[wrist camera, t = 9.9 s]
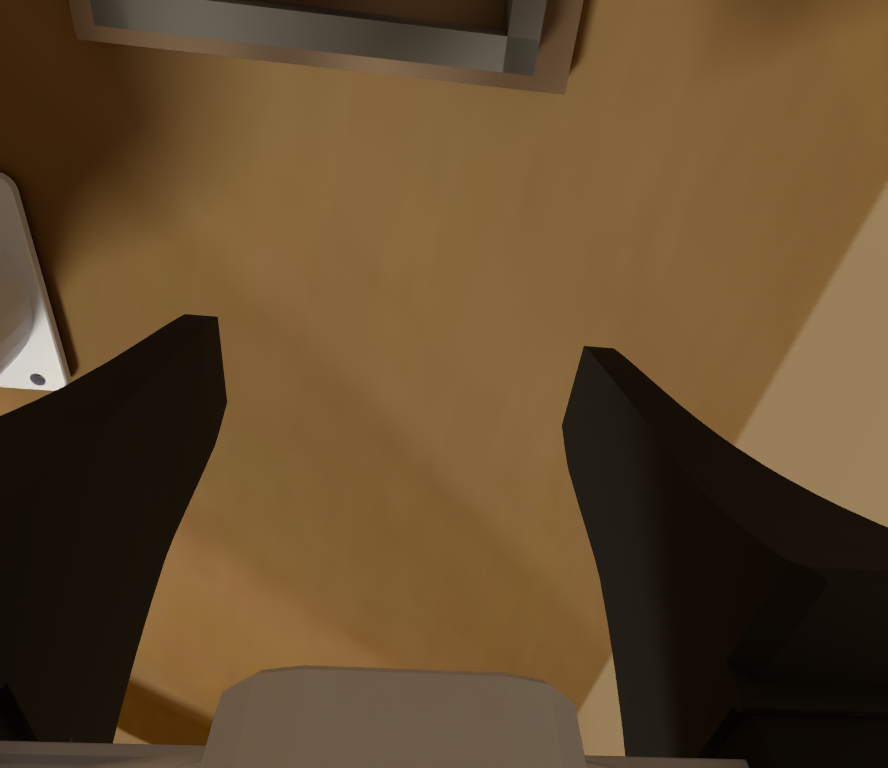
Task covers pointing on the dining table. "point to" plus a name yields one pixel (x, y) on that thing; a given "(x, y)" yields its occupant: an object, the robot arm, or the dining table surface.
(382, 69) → the pocket plate
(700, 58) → the dining table surface
